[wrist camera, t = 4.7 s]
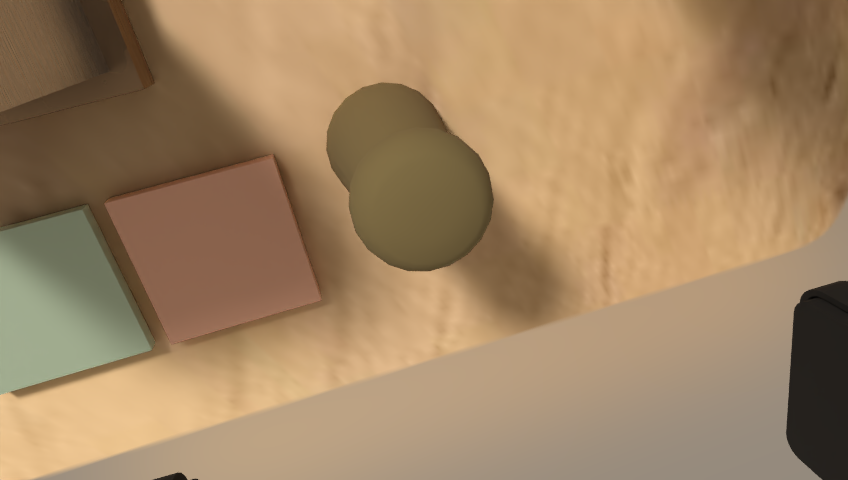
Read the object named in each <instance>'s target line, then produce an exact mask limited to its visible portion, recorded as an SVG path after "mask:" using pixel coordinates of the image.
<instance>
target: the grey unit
mask: <svg viewBox="0 0 848 480" xmlns="http://www.w3.org/2000/svg"><path fill="white" fill-rule="evenodd" d="M152 84H154V80H153V78H152V75H151V73H150V70H149V68H148V65H147V63H146V61H145V58H144V56H143V53H142V51H141V48H140V46H139V43H138V41H137V38H136V36H135V33H134V31H133V28H132V26H131V23H130V21H129V19H128V16H127V14H126V11H125V9H124V6H123V4H122V1H121V0H0V126H1V125H5V124H9V123H13V122H17V121H21V120H25V119H29V118H32V117H36V116H40V115H44V114H48V113H52V112H56V111H60V110H64V109H68V108H72V107H76V106H80V105H84V104H88V103H92V102H95V101H99V100H103V99H107V98H111V97H115V96H119V95H123V94H127V93H131V92H135V91H139V90H143V89H145V88H147V87H149V86H150V85H152Z"/></svg>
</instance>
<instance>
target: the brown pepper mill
mask: <svg viewBox="0 0 848 480" xmlns="http://www.w3.org/2000/svg"><path fill="white" fill-rule="evenodd" d="M327 154H328V157H329V160H330V164H331V167H332V169H333V171H334V172H335V174H336V175H337V177H338V178H339V179H340V181H341V182H342V184H343V185H344V186H345V187H346V189H347V190H348V191H349V192H350V194H349V209H350V214H351V217H352V221H353V224H354V228H355V231H356V233H357V234H358V236H359V237H360V239H361V240H362V242H363V243H364V244H365V246H366V247H367V249H368V250H369V251H371V252H372V253H373V254H375V255H376V256H377V257H379V258H380V259H382V260H383V261H384V262H386V263H387V264H389V265H391V266H394V267H397V268H401V269H404V270H407V271H432V270H435V269H439V268H443V267H446V266H449V265H451V264H453V263H454V262H456V261H458V260H459V259H461V258H462V257H464V256H466V255H467V254H468V253H469V252H470V251H471V250H472V249H473V248H474V247H475V245H476V244H477V243H478V242H479V241H480V240H481V239H482V237H483V235H484V233H485V230H486V228H487V226H488V224H489V222H490V220H491V214H492V207H493V200H494V199H493V193H492V188H491V182H490V177H489V173H488V171H487V169H486V167H485V166H484V164H483V162H482V160H481V158H480V157H479V155H478V154H477V153H476V152H475V151H474V150H473V149H471V148H470V147H469V146H468V145H467V144H466V143H465V142H464V141H462V140H461V139H460V138H459V137H457V136H454V135H452V134H449V133H447V131H446V129H445V127H444V124H443V122H442V120H441V118H440V116H439V115H438V113H437V111H436V109H435V108H434V106H433V104H432V103H431V102H430V101H429V100H427V99H426V98H425V97H424V96H423V95H422V94H421V93H420V92H418V91H416V90H414V89H411V88H409V87H407V86H404V85H402V84H393V83H378V84H374V85H370V86H366V87H363V88H361V89H360V90H358V91H356V92H355V93H353V94H352V95H350V96H349V97H347V98H346V99H345V100H344V101H343V103H342V104H341V105H340V106H339V108H338V109H337V110H336V111H335V113H334V115H333V117H332V120H331V123H330V125H329V128H328V131H327Z"/></svg>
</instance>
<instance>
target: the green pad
mask: <svg viewBox="0 0 848 480" xmlns="http://www.w3.org/2000/svg"><path fill="white" fill-rule="evenodd" d="M154 344H155V340H154V338H153V336H152V334H151V332H150V330H149V328H148V326H147V324H146V322H145V320H144V318H143V316H142V314H141V312H140V309H139V307H138V305H137V303H136V301H135V299H134V297H133V295H132V293H131V291H130V289H129V287H128V285H127V283H126V281H125V279H124V277H123V275H122V273H121V271H120V269H119V267H118V265H117V263H116V261H115V259H114V257H113V254H112V252H111V250H110V248H109V246H108V244H107V242H106V240H105V238H104V236H103V234H102V232H101V230H100V228H99V226H98V224H97V222H96V220H95V218H94V216H93V214H92V212H91V210H90V208H89V206H88V204H86V205H82V206H79V207H75V208H71V209H68V210H64V211H60V212H56V213H53V214H49V215H45V216H42V217H38V218H34V219H30V220H27V221H23V222H19V223H16V224H12V225H8V226H4V227H1V228H0V395H1V394H4V393H8V392H11V391H14V390H18V389H21V388H25V387H28V386H32V385H35V384H38V383H42V382H45V381H49V380H52V379H55V378H59V377H62V376H66V375H69V374H72V373H76V372H79V371H83V370H86V369H89V368H93V367H96V366H100V365H103V364H106V363H110V362H113V361H117V360H120V359H124V358H127V357H130V356H134V355H137V354H141V353H144V352H147V351H151V350H152V349H153V347H154Z"/></svg>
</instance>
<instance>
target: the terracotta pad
mask: <svg viewBox="0 0 848 480" xmlns="http://www.w3.org/2000/svg"><path fill="white" fill-rule="evenodd" d="M104 205H105V207H106V209H107V211H108V213H109V215H110V218H111V220H112V222H113V224H114V226H115V228H116V230H117V232H118V234H119V236H120V238H121V240H122V243H123V245H124V247H125V249H126V251H127V253H128V255H129V257H130V259H131V261H132V263H133V266H134V268H135V270H136V272H137V274H138V276H139V278H140V280H141V282H142V284H143V286H144V289H145V291H146V293H147V295H148V297H149V299H150V301H151V303H152V305H153V307H154V309H155V311H156V314H157V316H158V318H159V320H160V322H161V324H162V326H163V328H164V330H165V332H166V334H167V337H168V339H169V341H170V343H171V344H175V343H178V342H181V341H185V340H188V339H192V338H195V337H199V336H202V335H205V334H209V333H212V332H216V331H219V330H222V329H226V328H229V327H233V326H236V325H239V324H243V323H246V322H250V321H253V320H256V319H260V318H263V317H267V316H270V315H273V314H277V313H280V312H284V311H287V310H291V309H294V308H297V307H301V306H304V305H308V304H311V303H314V302H318V301H321V293H320V290H319V287H318V284H317V281H316V278H315V275H314V272H313V269H312V266H311V263H310V260H309V257H308V254H307V251H306V248H305V246H304V243H303V240H302V237H301V234H300V231H299V228H298V225H297V222H296V219H295V216H294V213H293V210H292V207H291V204H290V201H289V198H288V195H287V193H286V190H285V187H284V184H283V181H282V178H281V175H280V172H279V169H278V166H277V163H276V160H275V157H274V154H272V155H268V156H265V157H261V158H257V159H254V160H250V161H246V162H242V163H239V164H235V165H231V166H227V167H224V168H220V169H216V170H213V171H209V172H205V173H201V174H198V175H194V176H190V177H187V178H183V179H179V180H175V181H172V182H168V183H164V184H161V185H157V186H153V187H149V188H146V189H142V190H138V191H135V192H131V193H127V194H123V195H120V196H116V197H112V198H109V199H108V200H107V201H106V202H105V203H104Z"/></svg>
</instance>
